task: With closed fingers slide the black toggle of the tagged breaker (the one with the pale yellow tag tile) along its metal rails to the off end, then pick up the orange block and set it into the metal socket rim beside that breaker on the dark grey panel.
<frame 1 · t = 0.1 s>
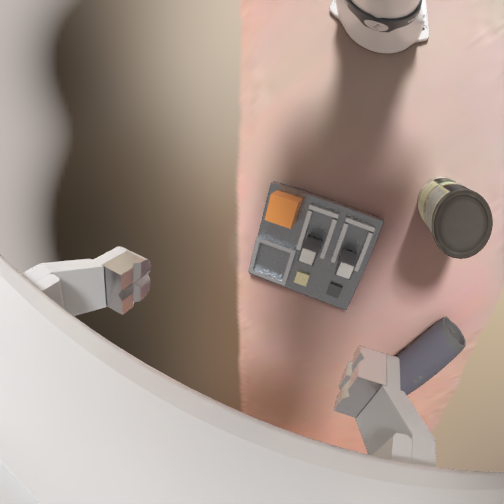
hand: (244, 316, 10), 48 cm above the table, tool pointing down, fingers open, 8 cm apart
coffee can: (441, 203, 47), on the table
orange block: (286, 206, 56), point 2 cm above the table, touching panel
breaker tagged: (310, 251, 54), point 5 cm above the table, slide at 0.0 cm
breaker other: (346, 264, 53), point 5 cm above the table, slide at 0.0 cm
panel: (313, 245, 59), on the table
bluetooth speaker: (415, 349, 59), on the table
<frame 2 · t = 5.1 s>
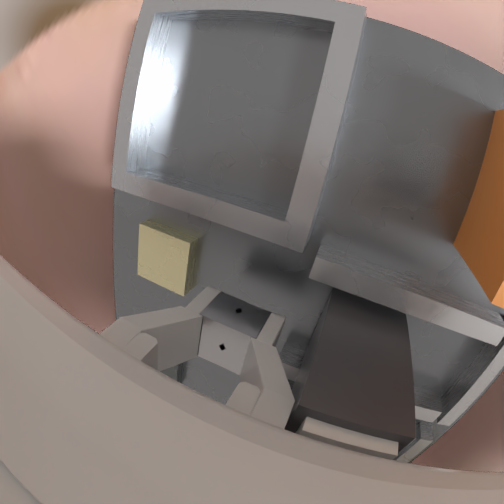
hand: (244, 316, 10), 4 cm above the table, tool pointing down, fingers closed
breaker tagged: (347, 386, 8), point 5 cm above the table, slide at 0.9 cm, touching gripper
panel: (318, 287, 13), on the table
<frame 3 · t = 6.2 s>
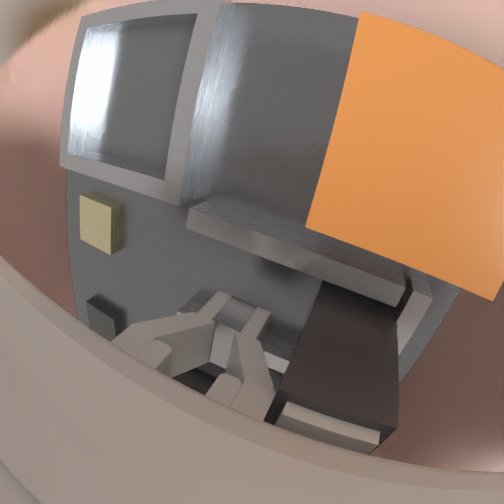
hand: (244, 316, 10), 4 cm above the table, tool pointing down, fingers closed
orange block: (418, 150, 8), point 2 cm above the table, touching panel
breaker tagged: (333, 377, 9), point 5 cm above the table, slide at 5.3 cm, touching gripper
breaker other: (176, 417, 13), point 5 cm above the table, slide at 0.0 cm
panel: (225, 250, 15), on the table
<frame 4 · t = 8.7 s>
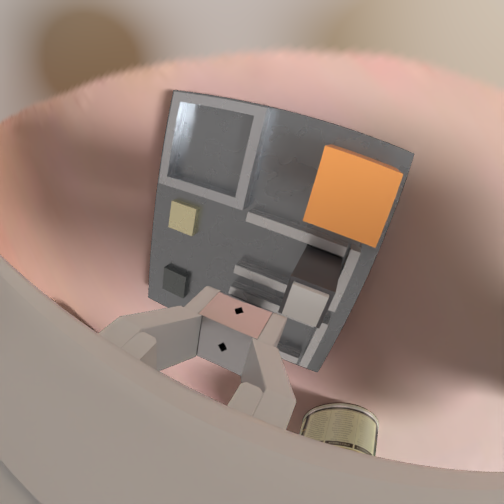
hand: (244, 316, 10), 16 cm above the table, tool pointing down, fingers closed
coffee can: (340, 425, 33), on the table
orange block: (353, 187, 21), point 2 cm above the table, touching panel
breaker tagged: (312, 285, 21), point 5 cm above the table, slide at 5.0 cm
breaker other: (230, 329, 26), point 5 cm above the table, slide at 0.0 cm
panel: (258, 233, 27), on the table
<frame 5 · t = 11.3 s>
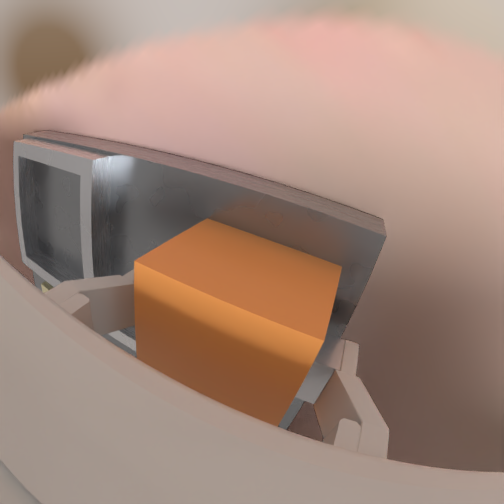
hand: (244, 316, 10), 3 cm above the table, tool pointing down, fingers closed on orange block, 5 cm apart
orange block: (255, 300, 11), point 2 cm above the table, touching gripper, panel
panel: (147, 331, 18), on the table
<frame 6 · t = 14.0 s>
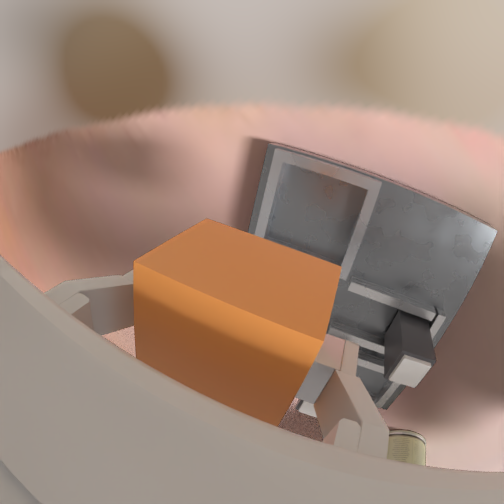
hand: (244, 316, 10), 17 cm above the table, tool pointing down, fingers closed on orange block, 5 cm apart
coffee can: (392, 447, 32), on the table
orange block: (255, 300, 11), point 16 cm above the table, touching gripper
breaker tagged: (408, 349, 21), point 5 cm above the table, slide at 5.0 cm
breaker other: (322, 385, 25), point 5 cm above the table, slide at 0.0 cm
panel: (347, 293, 27), on the table
when the fingers open (5 cm above the table, at t = 16.5 s): orange block drops 2 cm, resting on panel.
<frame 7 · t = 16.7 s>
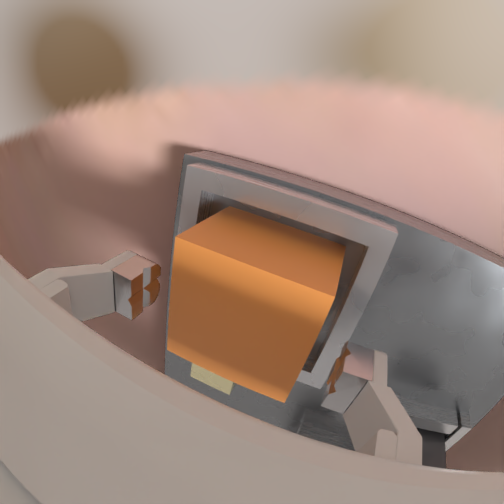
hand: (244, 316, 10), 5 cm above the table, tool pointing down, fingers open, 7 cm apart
orange block: (271, 277, 13), point 2 cm above the table, touching panel
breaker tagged: (408, 477, 11), point 5 cm above the table, slide at 5.0 cm
panel: (328, 384, 17), on the table
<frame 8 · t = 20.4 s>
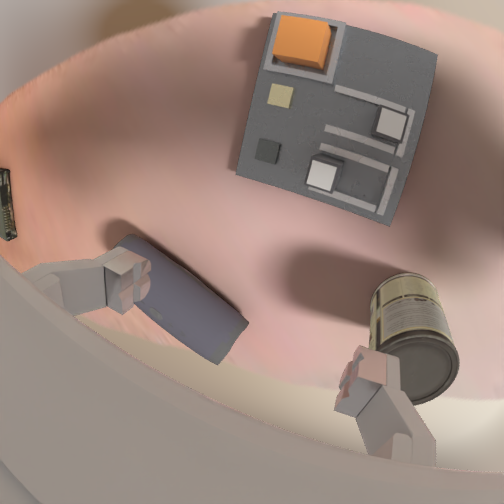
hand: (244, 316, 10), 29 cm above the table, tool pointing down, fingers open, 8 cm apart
coffee can: (405, 304, 38), on the table
orange block: (306, 47, 28), point 2 cm above the table, touching panel
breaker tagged: (388, 125, 26), point 5 cm above the table, slide at 5.0 cm
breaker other: (325, 172, 30), point 5 cm above the table, slide at 0.0 cm
panel: (337, 111, 32), on the table
bluetooth speaker: (191, 282, 50), on the table
network switch: (2, 198, 69), on the table
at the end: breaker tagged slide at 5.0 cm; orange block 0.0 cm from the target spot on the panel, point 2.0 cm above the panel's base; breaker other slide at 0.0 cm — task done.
